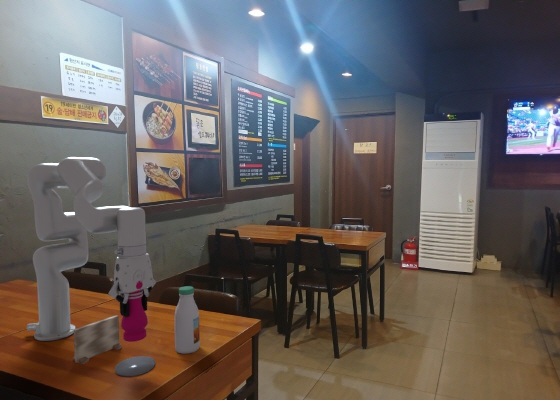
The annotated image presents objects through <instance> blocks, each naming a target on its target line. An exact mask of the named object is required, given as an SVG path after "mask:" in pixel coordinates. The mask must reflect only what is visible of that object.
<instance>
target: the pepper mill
mask: <svg viewBox="0 0 560 400" xmlns="http://www.w3.org/2000/svg"><path fill="white" fill-rule="evenodd" d="M136 283H137V284H136V288H137V289H141V288H142V286H143V283H142V281H141V282H140V281H138V282H136ZM142 296H143V291H142V290H139V291H136V292H132V293H129V296H128V300H127V303H129V317H125V316H122V318H121V321H120V327H121V329H122V330H123V333H122V334H123V336H122V337H123V339H122V340H124V341H125V342H129V343H132V342H133V343H134V342H139V341H142V340H143V339H146V337H147V329H146V327H147V325H148V322H149V321H148V319H149V318H148V316H147V313H146V311H144V309H143V306H142V301H141V297H142Z"/></svg>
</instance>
